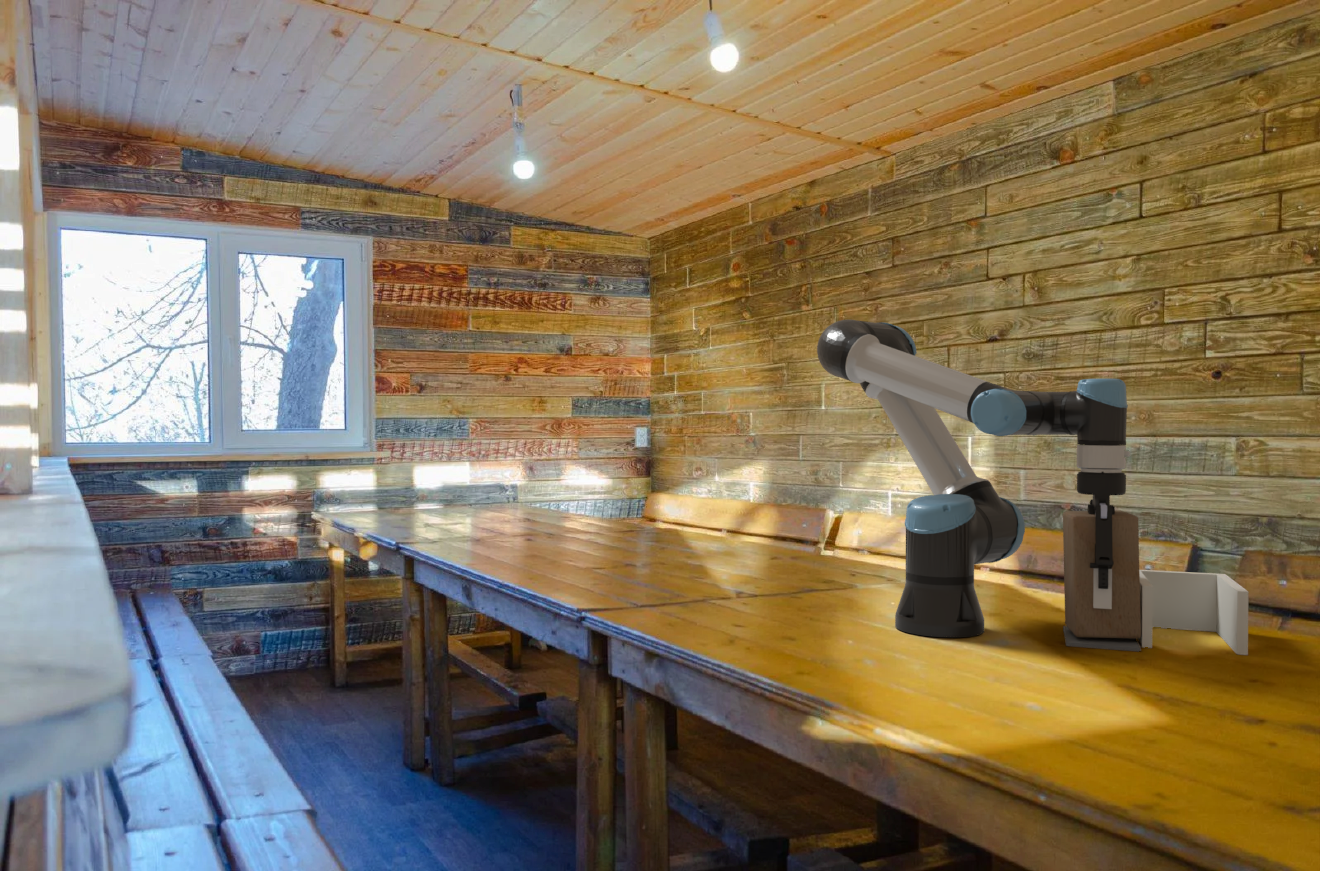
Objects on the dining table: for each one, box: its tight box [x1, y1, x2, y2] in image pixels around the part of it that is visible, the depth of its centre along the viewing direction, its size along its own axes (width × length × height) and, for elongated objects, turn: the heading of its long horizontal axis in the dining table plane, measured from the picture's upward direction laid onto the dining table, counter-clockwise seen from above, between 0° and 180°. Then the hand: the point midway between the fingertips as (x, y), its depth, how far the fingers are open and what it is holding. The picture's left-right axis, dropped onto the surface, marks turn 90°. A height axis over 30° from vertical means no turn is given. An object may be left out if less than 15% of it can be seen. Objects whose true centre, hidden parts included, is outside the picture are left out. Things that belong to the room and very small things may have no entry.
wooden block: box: [1062, 510, 1141, 640], centre depth 164 cm, size 10×10×20 cm
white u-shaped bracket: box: [1137, 569, 1249, 656], centre depth 166 cm, size 15×20×10 cm
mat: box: [1062, 625, 1142, 652], centre depth 164 cm, size 11×14×1 cm
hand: (1099, 602), depth 164 cm, fingers closed on wooden block, 10 cm apart
